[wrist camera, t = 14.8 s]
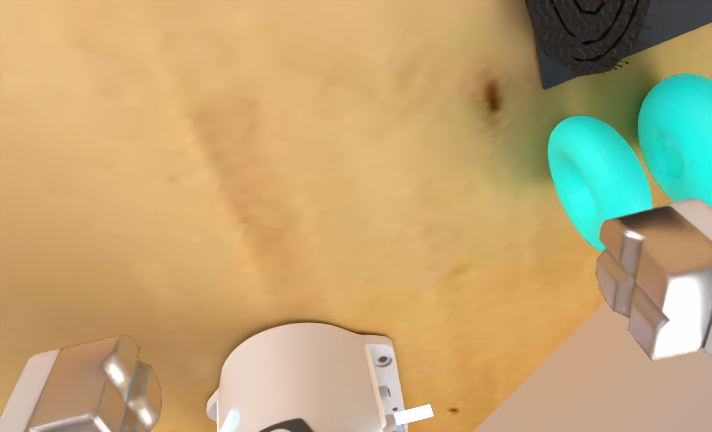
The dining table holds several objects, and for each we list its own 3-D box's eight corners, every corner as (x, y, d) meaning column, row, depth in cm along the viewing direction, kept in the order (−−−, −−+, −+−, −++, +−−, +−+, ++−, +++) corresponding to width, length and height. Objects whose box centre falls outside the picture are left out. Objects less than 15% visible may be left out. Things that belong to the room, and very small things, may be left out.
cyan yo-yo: (532, 102, 38) (607, 173, 30) (669, 46, 37) (786, 103, 29) (551, 207, 44) (618, 290, 35) (670, 161, 43) (767, 235, 35)
